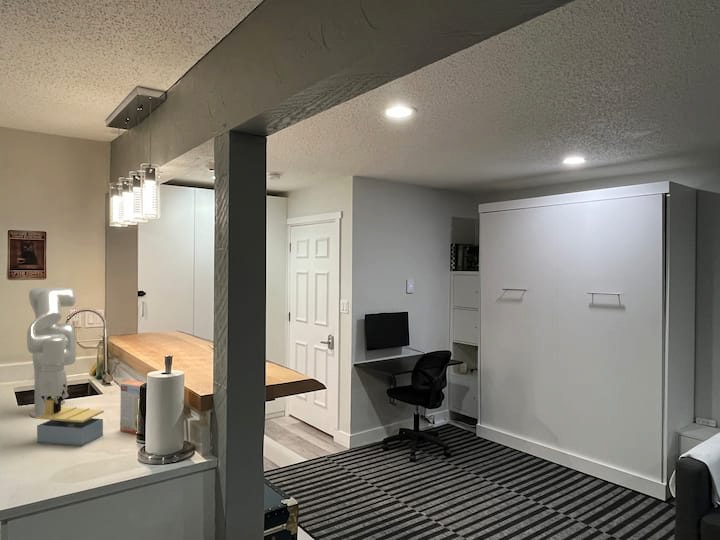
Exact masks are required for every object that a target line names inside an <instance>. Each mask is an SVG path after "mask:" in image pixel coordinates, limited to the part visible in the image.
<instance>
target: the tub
mask: <svg viewBox="0 0 720 540" xmlns="http://www.w3.org/2000/svg"><path fill="white" fill-rule="evenodd" d="M103 435H104V419H103V418H96V417H93V418H91V419H89V420H86V421H84V422H71V421H59V420H48V421H45V422H42V423H40V424H37V426H36V443H38V444H45V443H49V444H48V445H58V444H62V446H71V445H79V446H78V447H84V446H86V445H88V444H89V442H90V443H92V442H94V441H95V440H97V439H100V438H101V437H103ZM91 441H92V442H91ZM87 443H88V444H87ZM85 444H86V445H85ZM83 445H84V446H83Z"/></svg>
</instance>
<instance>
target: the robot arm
mask: <svg viewBox="0 0 720 540" xmlns="http://www.w3.org/2000/svg"><path fill="white" fill-rule="evenodd" d="M28 300H29V303H30V306H31V308H32V310H33V312H34V315H35V318H34V320H33V321H31V323H30V325H29V326H28V329H27V331H26V344H27V345H26V346H27V351H28V352H29V353H31V354H32V356H31V358H32V365H33V373H34V410H33V411H31V412H30V416H31V417H33V418H36V416H39V415H41V414H44V413H45V400H48V399H50V398H53V397H55V403H54V413H57V412H60V411H61V407H62V406H63V405H65V404H66V400H65V399H66V398H68V397H69V393H68V380H67V378H68V377H67V373H66V370H65V366H71V365H73V364H74V363H75V362H76V359H77V358H76V356H77V355H76V353H77V352H76V331H75V330H76V329H75V327H74V325H73V324H72V323H69V322H67V323H66V322H64V323H63V322H62V323H60V321H61V319H62V309H61V308H66V307H73V306H74V305H75V303H76V294H75V291H74V290H73V288H71V287H69V286H67V287H66V286H65V287H64V286H62V287H61V286H59V287H58V286H55V287H51V286H49V287H48V286H47V287H34V288H32V289H31V290H29V293H28ZM58 397H59V398H58Z"/></svg>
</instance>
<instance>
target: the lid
mask: <svg viewBox="0 0 720 540" xmlns="http://www.w3.org/2000/svg"><path fill="white" fill-rule="evenodd" d="M58 398H59V397H58ZM54 403H55V397H53V398H50V399H48V400H45V413H44V414H41V415H39V416H36V417H35V419H37V420H48V421H49V420H59V421H71V422H84V421H86V420H89V419H91V418H96V417H97V416H99V415H102V414H103V413H104V412H105V410H103V409H92V408H91V409H90V408H89V407H88V408H78V407H77V406H75V407H67V406H66V407H64V406H61V411H60V412H57V413H54Z"/></svg>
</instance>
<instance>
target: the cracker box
mask: <svg viewBox="0 0 720 540" xmlns="http://www.w3.org/2000/svg"><path fill="white" fill-rule="evenodd" d="M144 383H145V382H144V381H143V382H142V381H137V380H136V381H135V380H128V381H124V382H121V383H120V405H119V406H120V411H119V413H120V415H119V417H120V418H119V419H120V421H119V423H120V425H119V429H120V430H119V431H120V432H124V433H125V432H126V433H130V434H134V435H137V434H136V432H137V415H138V399H139V389H140V386H141V385H142V384H144Z"/></svg>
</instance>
